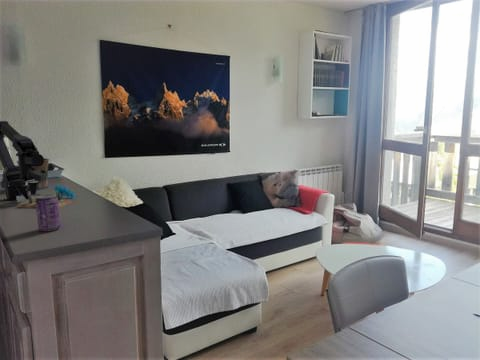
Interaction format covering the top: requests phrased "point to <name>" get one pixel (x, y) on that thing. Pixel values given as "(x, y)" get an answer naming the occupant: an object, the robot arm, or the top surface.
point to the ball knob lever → (22, 199)
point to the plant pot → (39, 168)
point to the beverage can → (47, 212)
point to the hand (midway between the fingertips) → (30, 198)
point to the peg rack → (32, 202)
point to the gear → (63, 192)
